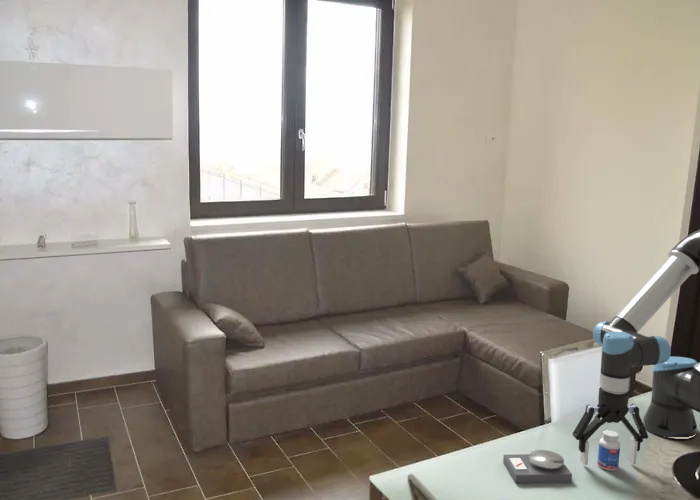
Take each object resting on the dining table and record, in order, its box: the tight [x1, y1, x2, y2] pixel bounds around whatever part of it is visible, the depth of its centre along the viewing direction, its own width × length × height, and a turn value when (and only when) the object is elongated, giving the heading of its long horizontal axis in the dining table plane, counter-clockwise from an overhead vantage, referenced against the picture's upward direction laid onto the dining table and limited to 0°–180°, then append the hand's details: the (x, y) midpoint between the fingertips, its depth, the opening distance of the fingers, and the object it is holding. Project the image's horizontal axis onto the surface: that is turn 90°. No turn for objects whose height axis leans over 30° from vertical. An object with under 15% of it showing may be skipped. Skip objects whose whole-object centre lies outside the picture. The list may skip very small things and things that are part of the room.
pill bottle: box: [597, 429, 621, 472], centre depth 175 cm, size 6×5×10 cm
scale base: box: [502, 453, 573, 484], centre depth 172 cm, size 15×11×3 cm
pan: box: [529, 449, 565, 470], centre depth 171 cm, size 9×9×1 cm
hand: (608, 462), depth 175 cm, fingers open, 13 cm apart
